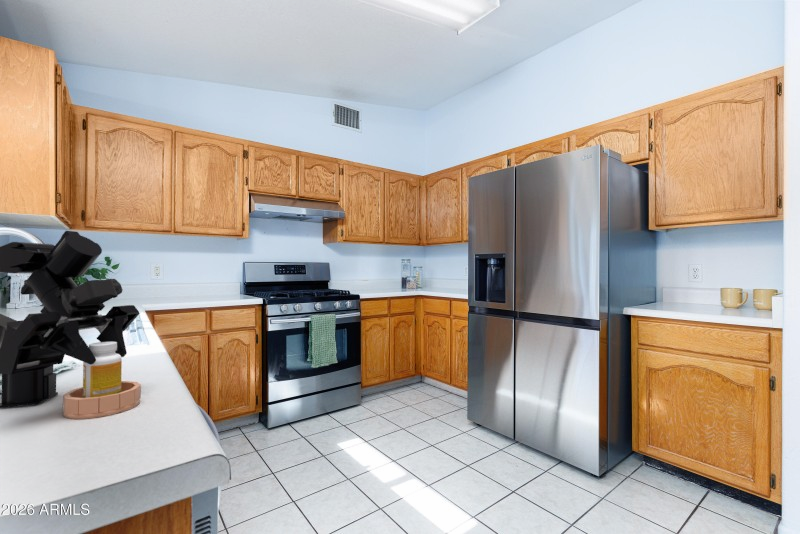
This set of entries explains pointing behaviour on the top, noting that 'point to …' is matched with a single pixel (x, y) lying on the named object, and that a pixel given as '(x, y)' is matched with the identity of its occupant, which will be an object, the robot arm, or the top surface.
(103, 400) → the terracotta bowl
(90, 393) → the supplement bottle
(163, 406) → the top surface
